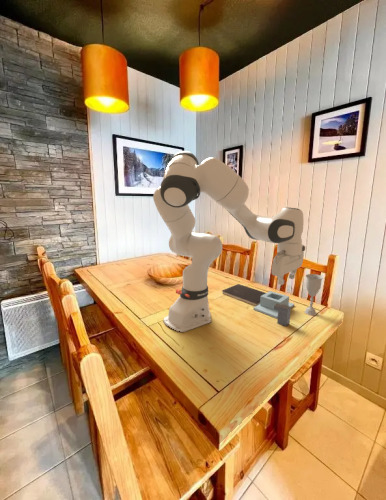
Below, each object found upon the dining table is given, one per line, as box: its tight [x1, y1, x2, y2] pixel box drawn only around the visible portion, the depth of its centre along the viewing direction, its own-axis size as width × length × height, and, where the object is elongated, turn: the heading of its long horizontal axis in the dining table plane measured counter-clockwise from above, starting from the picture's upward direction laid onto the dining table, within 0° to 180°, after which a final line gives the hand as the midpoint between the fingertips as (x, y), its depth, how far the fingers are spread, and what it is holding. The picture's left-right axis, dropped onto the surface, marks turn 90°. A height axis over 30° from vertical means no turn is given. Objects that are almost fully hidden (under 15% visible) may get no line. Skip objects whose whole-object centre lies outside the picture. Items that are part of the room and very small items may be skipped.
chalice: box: [304, 273, 324, 316], centre depth 105 cm, size 7×7×18 cm
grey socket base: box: [253, 290, 295, 319], centre depth 111 cm, size 18×12×6 cm, turn 133°
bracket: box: [274, 304, 292, 327], centre depth 98 cm, size 3×6×8 cm, turn 43°
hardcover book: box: [221, 283, 267, 307], centre depth 127 cm, size 16×23×2 cm
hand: (286, 281), depth 93 cm, fingers open, 8 cm apart
